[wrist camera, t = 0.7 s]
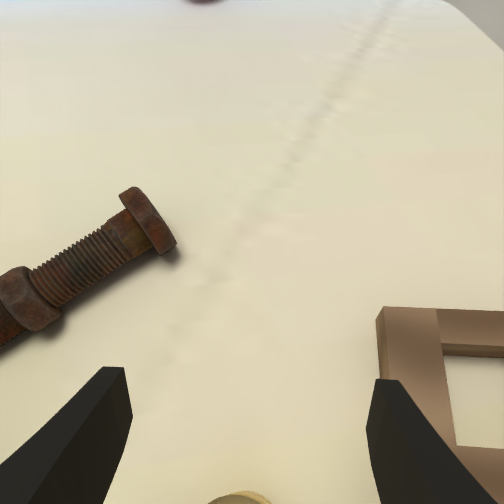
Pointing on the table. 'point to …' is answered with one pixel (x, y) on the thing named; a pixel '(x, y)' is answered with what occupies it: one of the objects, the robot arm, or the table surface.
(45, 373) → the table surface
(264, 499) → the brass peg
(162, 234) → the bolt
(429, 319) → the frame
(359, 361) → the table surface
